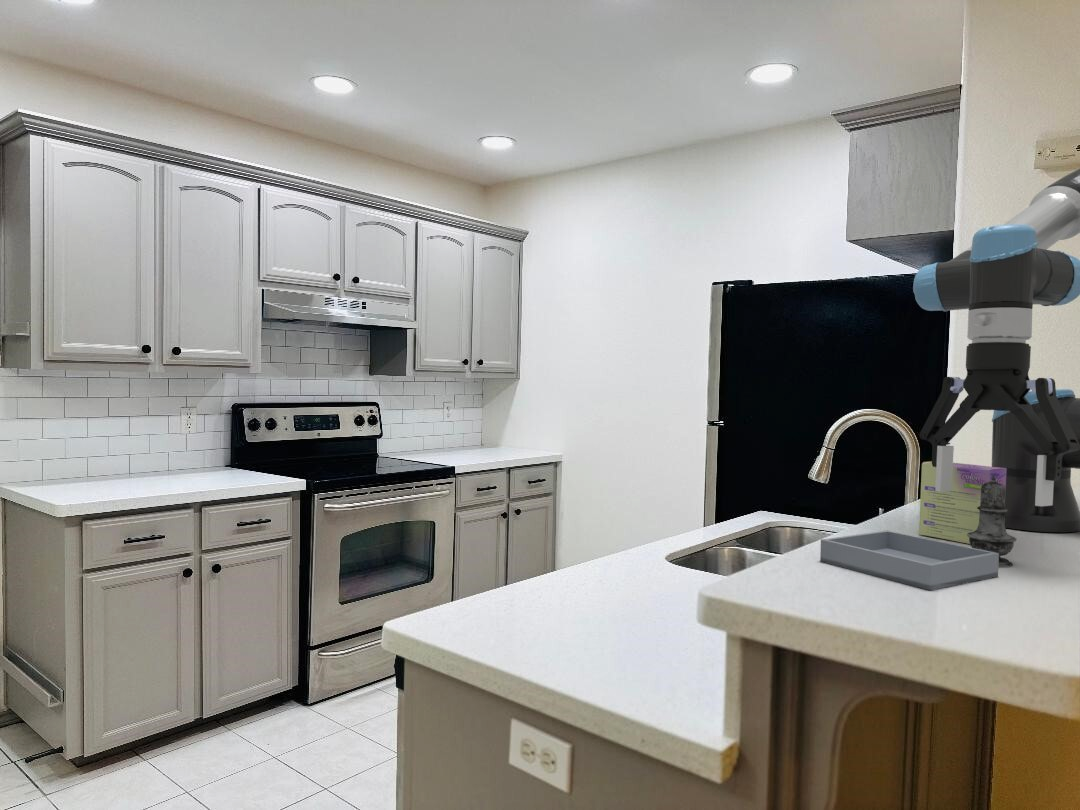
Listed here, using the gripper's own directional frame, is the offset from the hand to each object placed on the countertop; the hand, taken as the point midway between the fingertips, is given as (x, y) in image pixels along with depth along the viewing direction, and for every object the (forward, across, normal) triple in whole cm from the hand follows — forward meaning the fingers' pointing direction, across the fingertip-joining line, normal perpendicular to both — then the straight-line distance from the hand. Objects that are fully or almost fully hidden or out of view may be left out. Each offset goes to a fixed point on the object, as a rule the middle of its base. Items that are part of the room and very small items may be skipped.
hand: (990, 498), depth 106 cm
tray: (+9, -3, -13) cm, 16 cm away
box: (+9, -11, +12) cm, 18 cm away
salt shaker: (+9, 0, +1) cm, 9 cm away
